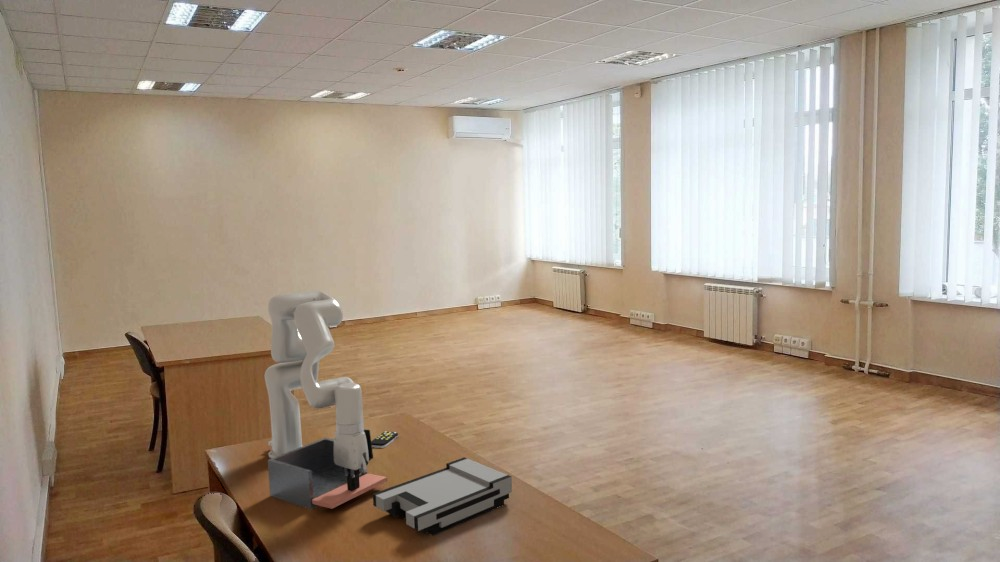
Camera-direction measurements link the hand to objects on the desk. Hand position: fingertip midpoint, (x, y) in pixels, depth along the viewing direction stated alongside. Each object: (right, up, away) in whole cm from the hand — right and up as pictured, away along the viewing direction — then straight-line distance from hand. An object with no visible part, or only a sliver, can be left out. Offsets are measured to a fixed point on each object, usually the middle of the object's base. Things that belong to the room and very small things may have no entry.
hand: (353, 488), depth 205 cm
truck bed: (-12, -3, +9) cm, 15 cm away
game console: (+27, -4, -8) cm, 28 cm away
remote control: (+1, +2, +48) cm, 48 cm away
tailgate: (-4, 0, +3) cm, 5 cm away
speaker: (-4, 0, +30) cm, 30 cm away
